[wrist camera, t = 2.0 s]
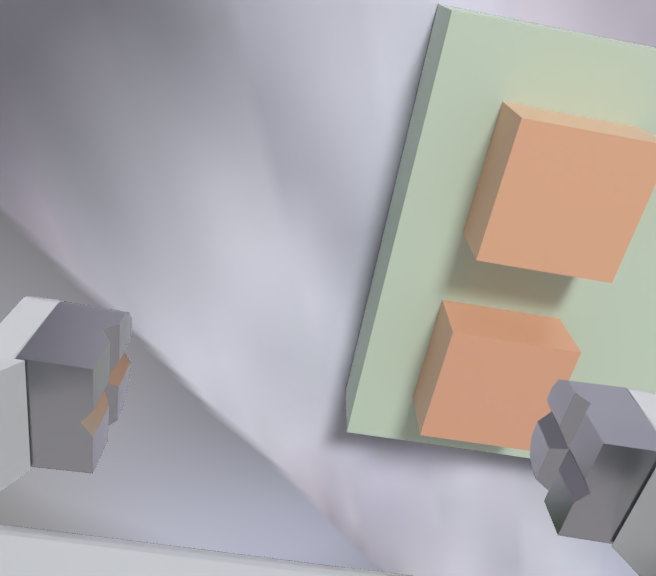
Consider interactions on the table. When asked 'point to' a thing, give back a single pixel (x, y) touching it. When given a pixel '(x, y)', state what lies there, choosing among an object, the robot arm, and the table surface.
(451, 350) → the tile
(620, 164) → the tile
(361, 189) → the table surface
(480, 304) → the board
